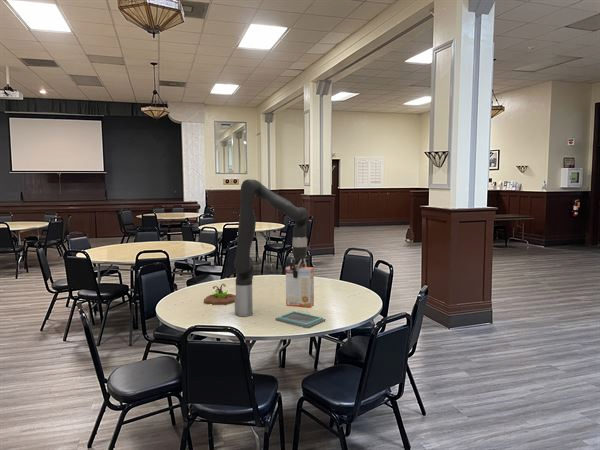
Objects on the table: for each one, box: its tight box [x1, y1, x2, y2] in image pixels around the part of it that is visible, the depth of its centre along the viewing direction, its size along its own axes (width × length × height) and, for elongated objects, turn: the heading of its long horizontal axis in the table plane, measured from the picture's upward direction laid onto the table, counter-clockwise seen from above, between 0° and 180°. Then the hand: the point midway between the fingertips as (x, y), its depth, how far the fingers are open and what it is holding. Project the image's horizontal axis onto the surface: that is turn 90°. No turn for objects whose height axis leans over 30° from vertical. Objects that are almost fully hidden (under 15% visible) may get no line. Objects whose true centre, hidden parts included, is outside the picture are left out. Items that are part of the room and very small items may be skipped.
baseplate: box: [275, 310, 326, 329], centre depth 231 cm, size 22×15×2 cm
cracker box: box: [285, 265, 315, 309], centre depth 230 cm, size 14×6×21 cm, turn 68°
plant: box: [203, 283, 236, 306], centre depth 271 cm, size 20×20×11 cm
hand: (299, 276), depth 229 cm, fingers closed on cracker box, 7 cm apart
